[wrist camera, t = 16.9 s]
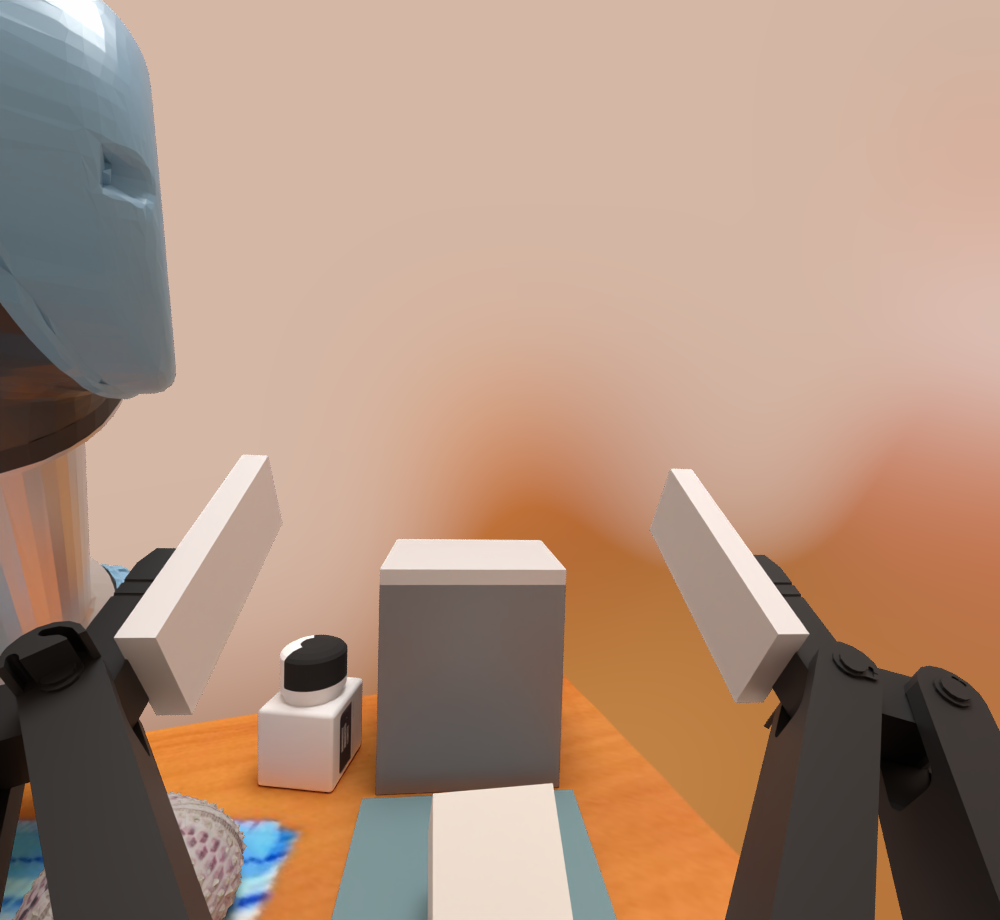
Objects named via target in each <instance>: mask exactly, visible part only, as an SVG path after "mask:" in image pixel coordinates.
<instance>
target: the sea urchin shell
mask: <svg viewBox="0 0 1000 920" xmlns="http://www.w3.org/2000/svg"><path fill="white" fill-rule="evenodd" d="M167 795H168V797H169V800H170V803H171V806H172V808H173V811H174V814H175V817H176V820H177V822H178V825H179V828H180V831H181V833H182V836H183V839H184V842H185V845H186V847H187V850H188V853H189V856H190V858H191V861H192V864H193V867H194V869H195V872H196V875H197V878H198V881H199V883H200V886H201V889H202V892H203V894H204V897H205V900H206V903H207V906H208V908H209V911H210V914H211V917H212V919H213V920H222V919H223V918H224V917H226V913H227V909H228V908H229V907H230V906H231V905H232V904H233V903H234V897H235V892H236V890H237V888H238V886H239V885H240V884H241V880H240V878H241V874H240V872H241V870H242V869H241V866H242V865H243V863H244V862H243V859H244V857H243V855H242V854H243V852H244V850H245V848H246V845H245V844H244V843H243V842H242V840H243V838H244V836H245V835H243V832H240V831H239V825H238V824H235V823H234V820H233V819H230V816H228V815H226V814H224V810H223V808H222V809H217V806H216V803H211V804H210V803H207V801H206V800H203V801H202V800H199V799H196V798H192V797H189V796H184V795H181V793H180V792H179V793H176V794H175V793H174V792H173V791H172V792H170V793H168V794H167ZM12 920H53V914H52V908H51V903H50V897H49V891H48V885H47V879H46V873H45V868H44V870H43V871H42V872H41V873H40V874H39V877H38V878H36V879H35V880H34V883H32V888H31V891H30V892H29V893H27V894H25V895H24V897H23V904H22V905H21V907H20V909H19V910H18V912H17V913H16V917H15V918H13V919H12Z"/></svg>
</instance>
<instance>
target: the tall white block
mask: <svg viewBox="0 0 1000 920" xmlns="http://www.w3.org/2000/svg"><path fill="white" fill-rule="evenodd" d="M428 920H573V915H572V909H571V902H570V895H569V888H568V882H567V875H566V868H565V862H564V855H563V848H562V842H561V835H560V828H559V822H558V815H557V808H556V802H555V795H554V788H553V783H549V784H537V785H526V786H515V787H503V788H492V789H480V790H469V791H457V792H446V793H435V794H433V797H432V805H431V813H430V821H429V829H428Z"/></svg>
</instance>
